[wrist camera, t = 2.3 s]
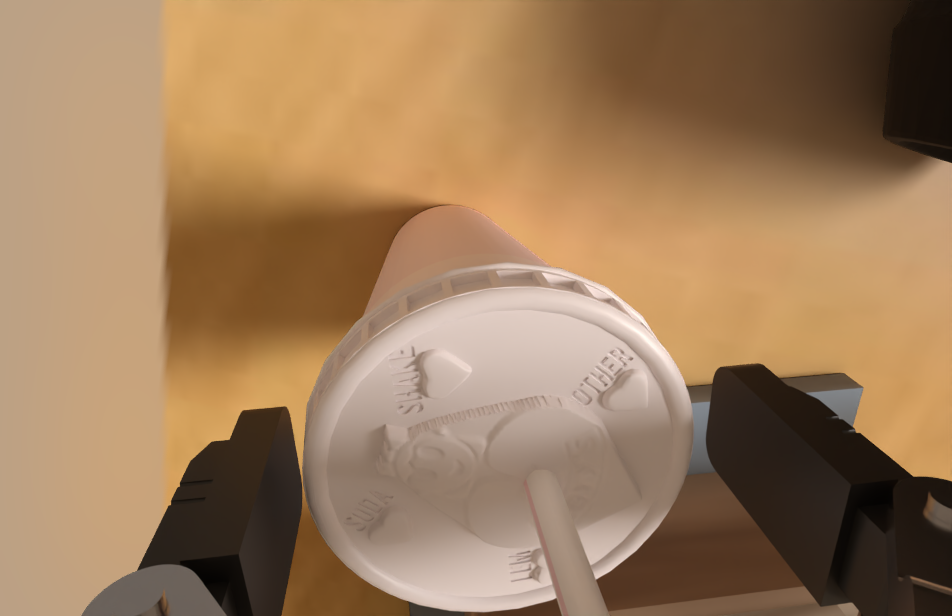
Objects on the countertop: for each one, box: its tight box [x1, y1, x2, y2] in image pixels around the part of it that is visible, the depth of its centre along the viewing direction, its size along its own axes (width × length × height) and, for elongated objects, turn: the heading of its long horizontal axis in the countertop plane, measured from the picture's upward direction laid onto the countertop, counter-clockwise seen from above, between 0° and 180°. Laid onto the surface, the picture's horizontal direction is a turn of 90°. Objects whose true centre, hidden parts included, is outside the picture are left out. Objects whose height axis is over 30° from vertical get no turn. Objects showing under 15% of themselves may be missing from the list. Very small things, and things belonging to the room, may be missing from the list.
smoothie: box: [302, 205, 694, 616], centre depth 12 cm, size 6×6×14 cm
